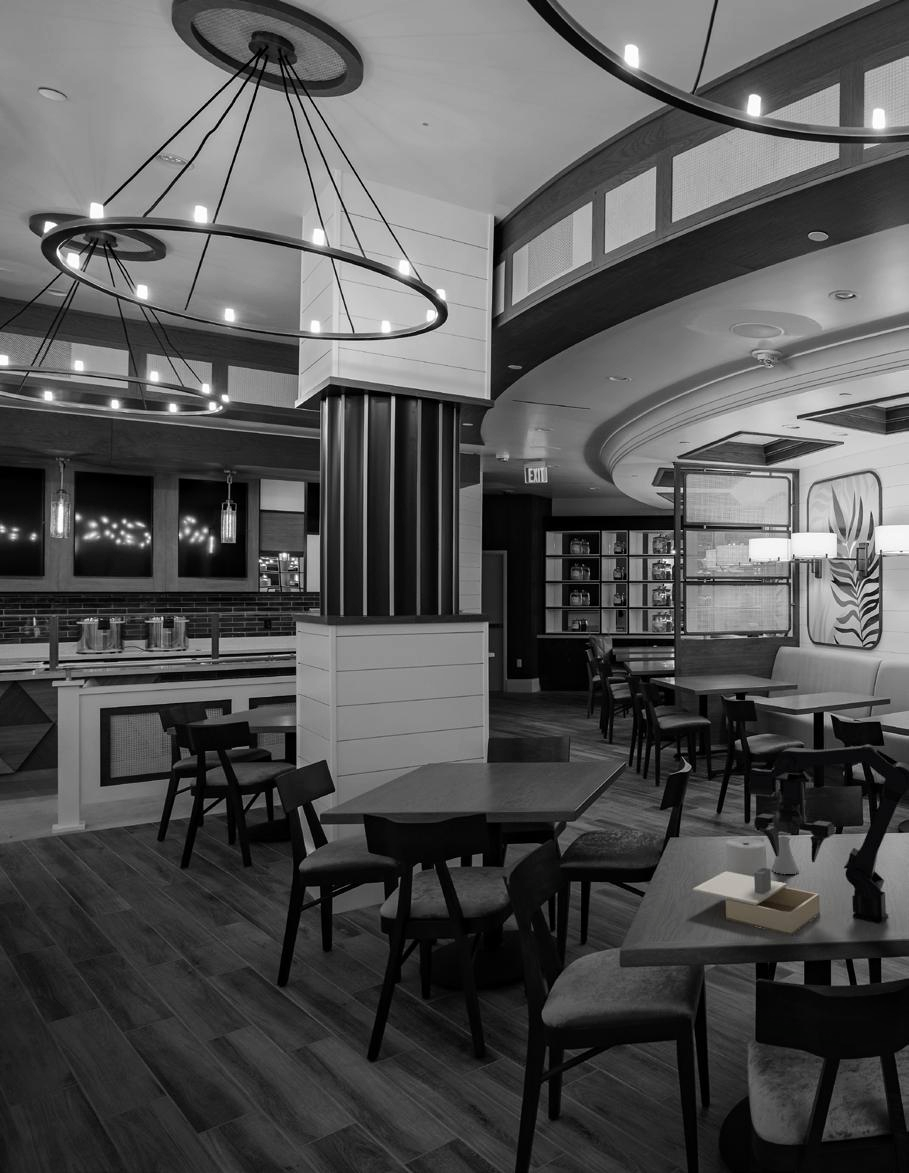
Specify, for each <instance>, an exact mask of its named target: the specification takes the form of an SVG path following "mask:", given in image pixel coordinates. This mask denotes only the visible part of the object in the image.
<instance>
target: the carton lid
mask: <svg viewBox="0 0 909 1173" xmlns="http://www.w3.org/2000/svg"><path fill="white" fill-rule="evenodd" d="M771 872H772V871H771V868H767V867H766V868H761V869H759V870H758V871H756V872H754V877H752V876H747V875H742V874H737V873H732V872H727V870H726V871H723V872H721V873H719V874H718V875H716V876H714V877H713V878H712V877H711V878H710V879H708V880H707V881H704V882H703V883H701V884H699V885H697V886H695V887H693V888H692V891H693V892H697V893H700V894H701V893H702V894H706V895H708V896H709V895H710V896H713V897H717V898H722V899H731V900H735V901H740V902H744V903H748V904H753V905H757V904H759V903H760V902H762V901H763V900H765V899H767V898H768V897H770V896H771V895H773V894H775V893H776V892H778V891H779V890H781V889H783V888H784V887H787V886H788V885H787V883H785V882H780V881H776V880H773V879H772V877H771Z"/></svg>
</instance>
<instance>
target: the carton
mask: <svg viewBox="0 0 909 1173" xmlns="http://www.w3.org/2000/svg"><path fill="white" fill-rule="evenodd" d="M820 907H821V906H820V894H819V893H817V892H816V893H815V892H811V891H807V890H806V891H805V890H802V889H797V888H793V887H792V888H791V887H787V886H786V887H784V888H783V889H781V890H779V891H778V892H776V893H775V894H773V895H771V896H770V897H768V898H767V899H765V900H763V901H762V902H760V903H759V904H757V905H753V904H748V903H744V902H740V901H735V900H731V899H727V898H725V917H726V918H725V920H726V921H729V920H730V922H735V923H738V924H742V923H743V924H742V925H746V924H748V925H747V926H750V925H752V926H751V927H754V926H757V927H756V928H758V927H761V928H760V929H762V928H765V929H764V930H766V929H768V930H767V931H770V930H772V931H771V932H774V931H776V932H775V933H778V932H781V933H780V934H782V933H785V934H784V935H786V934H789V935H788V936H790V935H791V936H793V935H794V934H795V933H794V932H796V931H797V930H798V929H799V928H801V927H802V926H803V925H805V924H806V923H808V922H809V921H810V920H812V919H813V918H814V917H815V916H817V915H818V916H820V915H821V912H820V911H821V908H820ZM819 914H820V915H819ZM818 916H817V917H818ZM814 919H815V918H814ZM814 919H813V920H814ZM813 920H812V921H813ZM810 922H811V921H810ZM810 922H809V923H810ZM809 923H808V924H809ZM806 925H807V924H806ZM806 925H805V926H806ZM802 928H803V927H802ZM802 928H801V929H802ZM798 931H799V930H798ZM798 931H797V932H798ZM797 932H796V933H797ZM793 933H794V934H793ZM792 934H793V935H792Z"/></svg>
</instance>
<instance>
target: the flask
mask: <svg viewBox="0 0 909 1173" xmlns="http://www.w3.org/2000/svg"><path fill="white" fill-rule="evenodd" d="M790 841H791V837H789V836H785V835H779V856H776V855H775V858H774V861H773V863H772V866H771V868H770V870H771V869H772V870H773V871H774V872H773V871H772V870H771V871H772V872H773V873H775V872H776V873H775V874H778V873H780V874H779V875H782V874H784V875H783V876H786V875H785V874H795V875H797V874H799V873H800V871H799V868H798V865H797V863H796V861H795V859H794V855H793V854H792V851H791V846H790ZM796 873H797V874H796Z"/></svg>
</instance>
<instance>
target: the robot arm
mask: <svg viewBox="0 0 909 1173" xmlns="http://www.w3.org/2000/svg"><path fill="white" fill-rule="evenodd" d="M857 763H858V764H859V763H861V764H862V763H865V764H866V765H868V766H869V767H870V768H871V769H872V770H874V771H875V772H876V773H877V774H878V775H880V776H881V777H882V778H884V781H883V782H884V784H883V789H882V794H881V795H882V796H881V800H880V802H879V804H878V806H877V809H876V811H875V814H874V816H873V819H872V821H871V824H870V826H869V828H868V830H867V833H866V835H865V838H864V841H863V842H862V845H861V847H860V848H859V849H857V848H856V847H853V848H852V849H851V850H850V853H849V857H848V859H847V861H846V863H845V865H844V867H843V868H844V869H846V870H845V877H846V879H847V882H848V883H849V884H850V885H852V886H853V888H854V892H853V893H854V894H853V895H852V897H851V898H852V899H851V900H852V901H851V902H852V912H853V914H852V918H857V919H860V920H866V921H868V922H869V921H870V922H875V923H879V924H880V923H883V921H885V920H886V919H888V917H889V914H888V913H887V910H886V909H887V908H886V907H887V905H886V892H885V891H882V888H883V886H884V883H885V879H884V878H882V877H881V875H880V874H878V873H877V872H876V871H875V870H876V865H877V860H878V859H877V858H878V852H879V850H880V847H881V844H882V842H883V841H884V838H885V835H886V833H887V831H888V828H889V826H890V824H891V822H892V819H893V816H894V814H895V811H896V810H897V806H898V805H899V803H900V802H901V800H902V799H904V798H903V797H904V796H905V795H906V794H907V792H908V791H909V764H907V763H905V762H899V761H897V760H895V759H894V758H893V757H891V756H890V755H888V754H886V753H884V752H883V751H881V750H879V749H878V748H876V746H874V745H871V744H869V743H868V744H867V743H866V744H864V745H859V746H858V745H856V746H847V747H837V748H835V747H833V748H825V749H811V748H805V747H803V748H801V747H787V748H785V749H784V750H782V751H781V752H780V753H779V754H778V755H777V758H776V764H775V765H774V767H772V769H760V768H754V767H753V768H751V769H750V776H749V778H748V779H749V782H748V792H749V794H750V795H753V796H762V797H765V796H766V797H774V796H775V794H777V793H779V796H780V801H779V803H778V810H777V811H776V813H775V814H771V813H770V814H769V813H761V814H759V815H757V816H755V818H754V819H753V827H754V828H756V829H759V832H761V833H763V834H765V835H766V837H767V840H768V841H769V843H770V845H771V847H772V848H771V849H772V850H773V852H774V856H775V857H776V856H779V836H780V835H779V833H780V832H783V833H786V834H789V835H790V834H794V832H795V830H800V831H806V832H810V833H811V834H812V836H810V841H811V862H812V863H815V862H816V860H817V857H818V855H819V852H820V850H821V849H820V848H821V846H822V844H823V842H824V840H826V839H828V838H830V837H832V836H833V835H835V832H836V829H835V828H836V827H835V825H834V824H833V822H831V821H823V820H817V821H814V822H813V823H808V822H807V821H808V817H807V816H806V810H805V808H806V807H805V806H806V805H807V800H805V789H804V788H805V787H804V783H810V782H811V780H812V779H813V778H812V776H810V775H809V774H808V773H807V772H806V771H805V770H808V769H811V768H815V767H818V766H819V767H823V766H834V765H836V766H837V765H846V764H857ZM798 772H801V773H798ZM785 773H786V774H787V776H786V775H785V776H783V775H784V774H785Z"/></svg>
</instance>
